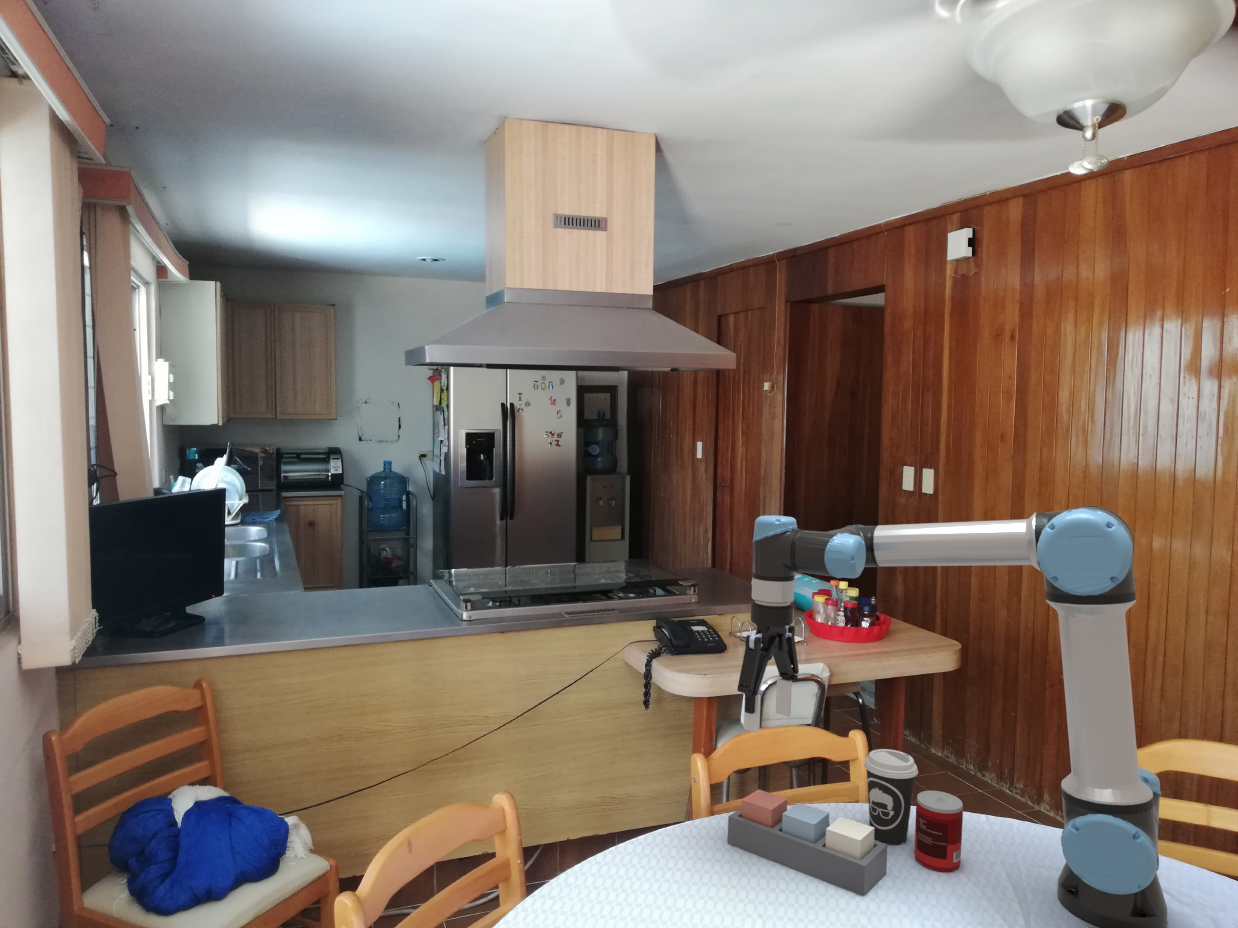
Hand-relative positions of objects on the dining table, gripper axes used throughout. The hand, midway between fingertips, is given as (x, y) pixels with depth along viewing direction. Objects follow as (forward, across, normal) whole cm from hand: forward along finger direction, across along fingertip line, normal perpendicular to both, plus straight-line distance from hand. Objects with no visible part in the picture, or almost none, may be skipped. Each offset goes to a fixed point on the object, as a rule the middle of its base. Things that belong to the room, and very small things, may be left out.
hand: (767, 722), depth 151 cm
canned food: (+22, -15, +26) cm, 37 cm away
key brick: (+18, 0, 0) cm, 18 cm away
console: (+22, 0, +8) cm, 24 cm away
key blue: (+18, 0, +8) cm, 20 cm away
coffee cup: (+22, -18, +16) cm, 33 cm away
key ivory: (+18, 0, +16) cm, 24 cm away
